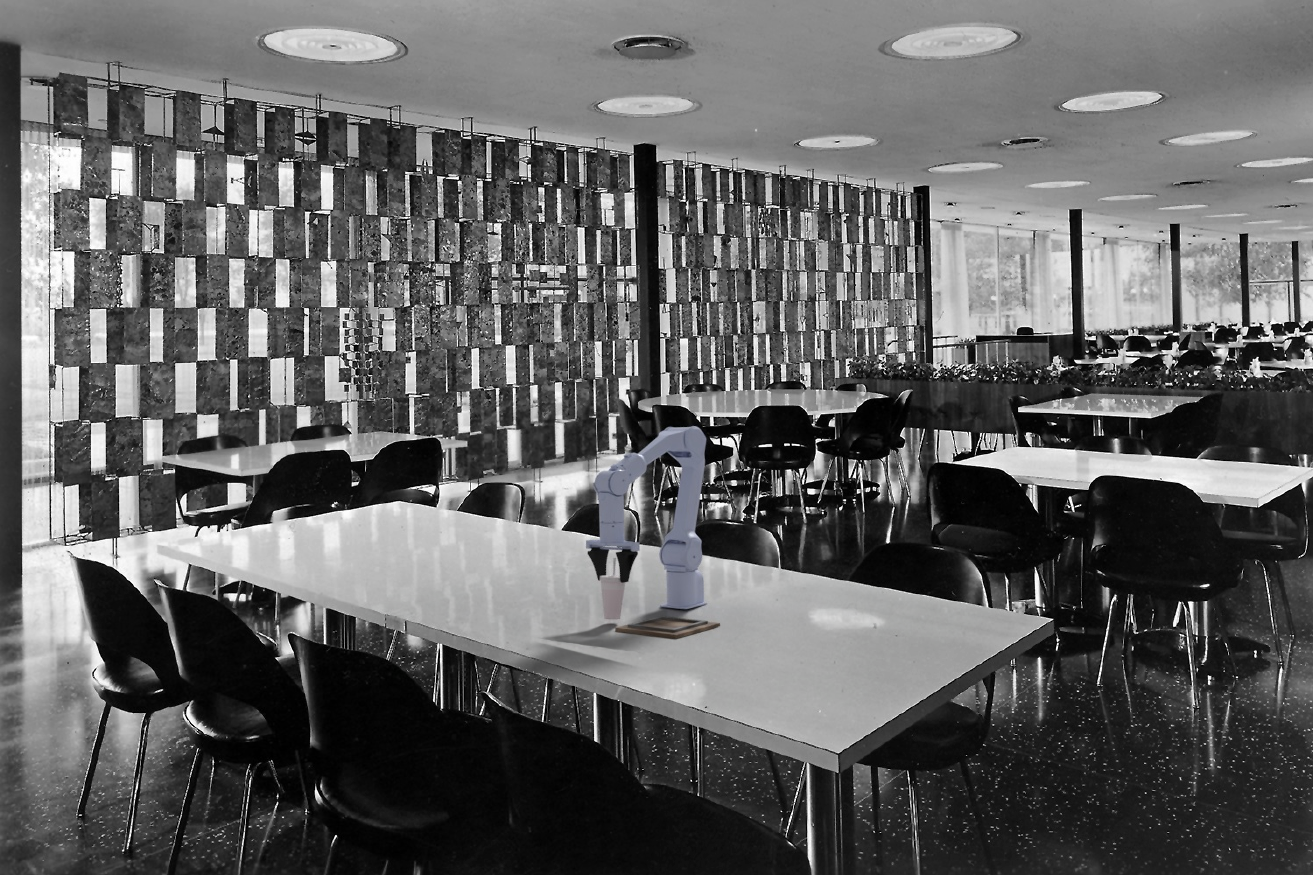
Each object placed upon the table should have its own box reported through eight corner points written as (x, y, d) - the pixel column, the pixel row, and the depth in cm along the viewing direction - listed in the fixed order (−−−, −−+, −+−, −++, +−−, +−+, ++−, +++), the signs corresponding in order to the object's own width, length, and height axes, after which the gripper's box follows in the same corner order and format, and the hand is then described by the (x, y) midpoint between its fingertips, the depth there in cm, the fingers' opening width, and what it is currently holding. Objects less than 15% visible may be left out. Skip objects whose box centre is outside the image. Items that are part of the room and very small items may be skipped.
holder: (660, 619, 250) (660, 613, 250) (720, 626, 240) (720, 620, 240) (615, 631, 236) (615, 624, 236) (676, 638, 226) (676, 632, 226)
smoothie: (602, 620, 238) (604, 558, 239) (594, 617, 244) (596, 556, 245) (629, 619, 241) (631, 558, 242) (620, 616, 247) (622, 556, 248)
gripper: (576, 522, 244) (578, 581, 244) (625, 524, 235) (626, 585, 236) (596, 520, 250) (597, 577, 250) (644, 522, 241) (645, 581, 241)
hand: (613, 581), depth 243 cm, fingers closed on smoothie, 6 cm apart
